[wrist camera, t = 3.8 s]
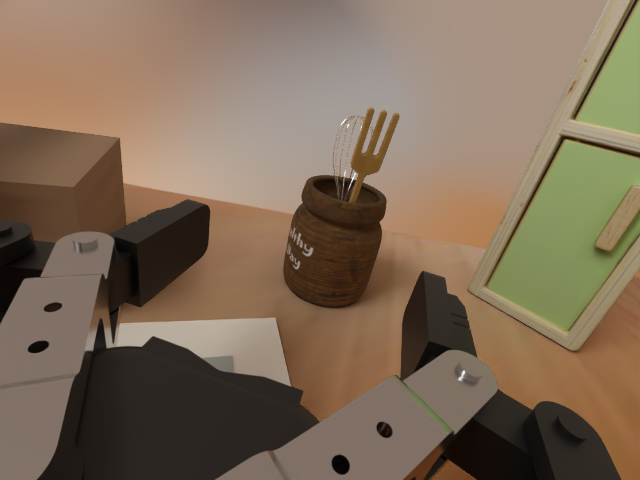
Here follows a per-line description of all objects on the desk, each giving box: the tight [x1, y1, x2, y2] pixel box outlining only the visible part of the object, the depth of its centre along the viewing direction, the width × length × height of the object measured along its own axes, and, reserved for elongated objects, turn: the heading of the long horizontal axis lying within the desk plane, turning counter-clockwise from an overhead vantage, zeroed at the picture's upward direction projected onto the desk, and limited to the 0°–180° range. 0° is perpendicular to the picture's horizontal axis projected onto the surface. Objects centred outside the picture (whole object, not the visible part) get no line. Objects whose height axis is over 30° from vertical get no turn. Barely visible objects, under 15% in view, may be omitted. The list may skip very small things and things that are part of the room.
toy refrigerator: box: [467, 0, 640, 351], centre depth 21 cm, size 8×7×21 cm
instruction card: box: [117, 318, 291, 386], centre depth 14 cm, size 10×7×1 cm
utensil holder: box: [284, 107, 399, 307], centre depth 20 cm, size 6×6×12 cm
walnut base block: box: [0, 123, 126, 243], centre depth 17 cm, size 8×8×7 cm
